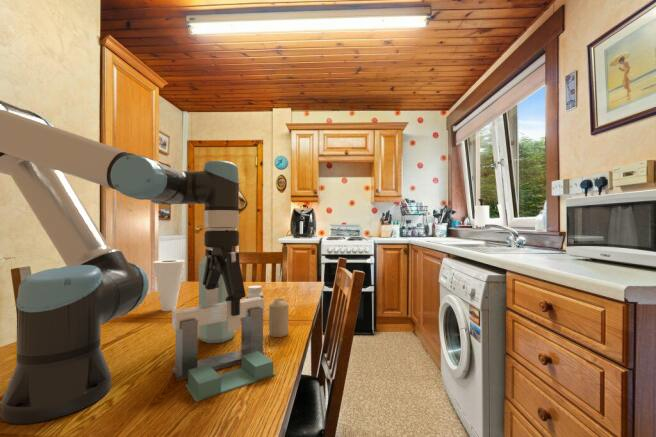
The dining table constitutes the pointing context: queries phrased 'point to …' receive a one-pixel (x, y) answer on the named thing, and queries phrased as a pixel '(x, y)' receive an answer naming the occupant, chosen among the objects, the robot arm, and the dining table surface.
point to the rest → (228, 376)
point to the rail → (213, 312)
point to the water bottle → (209, 331)
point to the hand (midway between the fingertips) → (222, 322)
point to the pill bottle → (254, 291)
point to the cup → (168, 282)
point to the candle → (278, 318)
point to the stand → (189, 355)
